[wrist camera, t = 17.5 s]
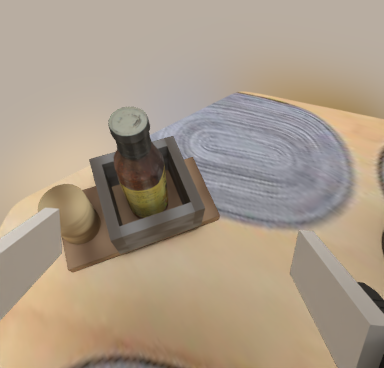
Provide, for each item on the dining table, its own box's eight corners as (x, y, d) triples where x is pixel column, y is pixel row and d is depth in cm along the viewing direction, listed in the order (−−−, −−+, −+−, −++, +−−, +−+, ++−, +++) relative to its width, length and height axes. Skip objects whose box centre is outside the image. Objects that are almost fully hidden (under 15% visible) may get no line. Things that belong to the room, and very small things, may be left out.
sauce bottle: (176, 207, 45) (176, 129, 28) (144, 230, 43) (122, 160, 26) (153, 179, 47) (139, 90, 30) (121, 199, 45) (87, 116, 28)
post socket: (191, 160, 52) (194, 125, 43) (219, 222, 46) (229, 197, 38) (59, 200, 47) (31, 170, 38) (73, 275, 41) (45, 260, 32)
